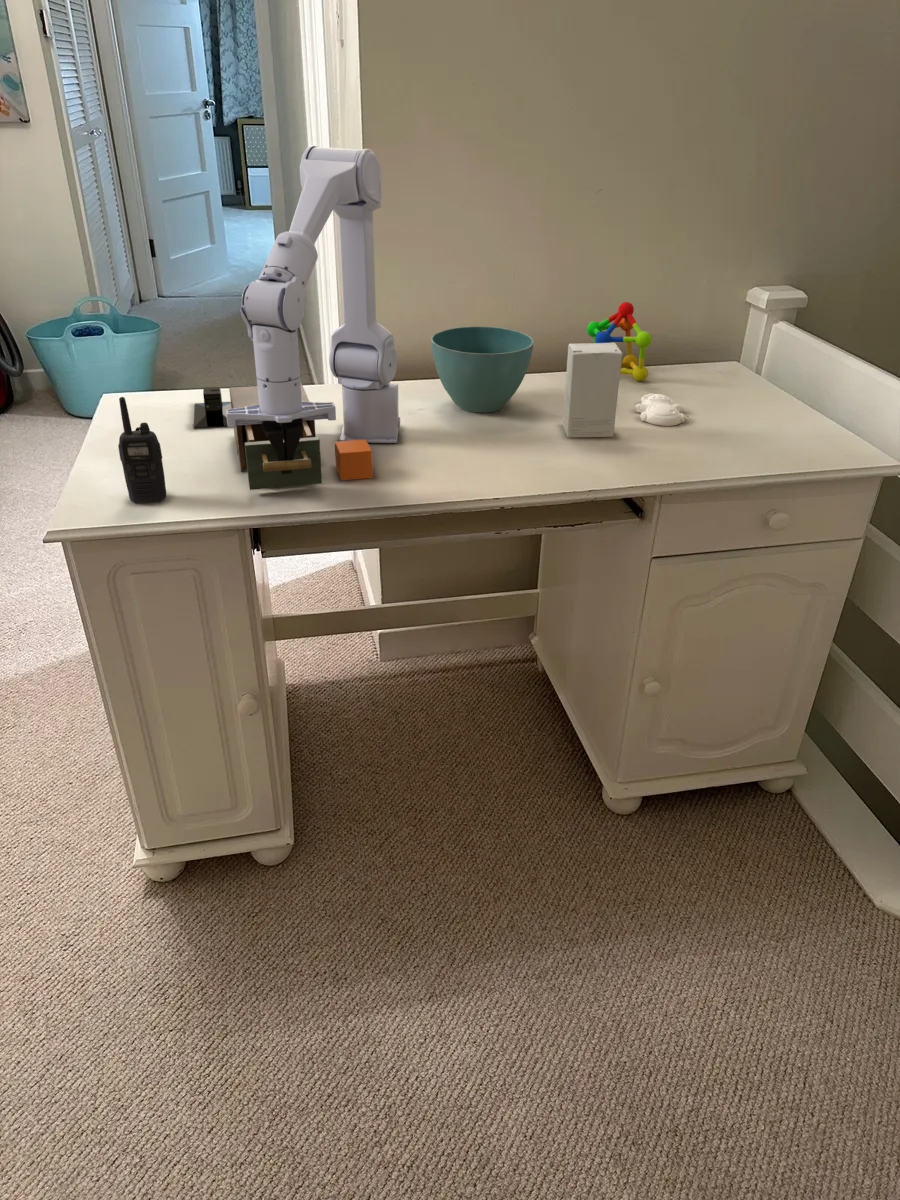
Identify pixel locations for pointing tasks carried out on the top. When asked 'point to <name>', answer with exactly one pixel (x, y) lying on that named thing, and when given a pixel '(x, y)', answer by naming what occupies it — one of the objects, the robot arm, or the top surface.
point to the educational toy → (624, 339)
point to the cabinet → (249, 398)
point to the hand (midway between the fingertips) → (286, 471)
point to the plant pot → (481, 365)
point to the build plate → (211, 410)
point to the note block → (353, 459)
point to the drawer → (268, 467)
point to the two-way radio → (141, 461)
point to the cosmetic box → (591, 389)
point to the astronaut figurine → (660, 410)
